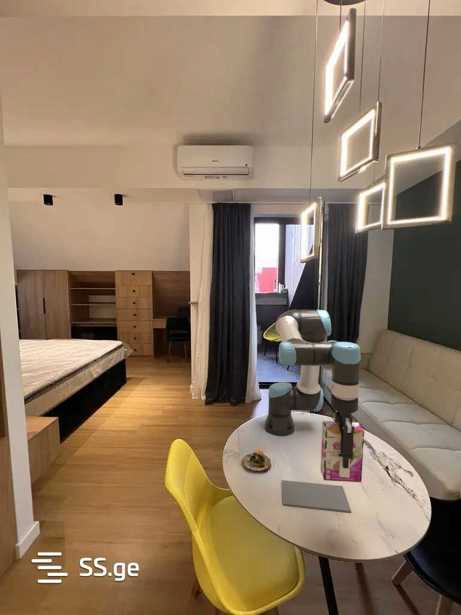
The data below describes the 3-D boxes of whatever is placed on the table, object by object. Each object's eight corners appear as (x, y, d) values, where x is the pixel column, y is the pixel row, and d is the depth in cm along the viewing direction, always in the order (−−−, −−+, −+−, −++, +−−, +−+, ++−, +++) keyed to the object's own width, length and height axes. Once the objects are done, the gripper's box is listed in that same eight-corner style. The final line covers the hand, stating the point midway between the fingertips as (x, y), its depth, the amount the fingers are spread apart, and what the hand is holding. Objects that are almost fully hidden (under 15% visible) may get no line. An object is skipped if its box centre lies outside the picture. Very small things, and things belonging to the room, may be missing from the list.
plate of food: (236, 462, 123) (236, 445, 122) (258, 453, 129) (258, 437, 129) (254, 478, 113) (254, 460, 112) (277, 468, 119) (277, 450, 119)
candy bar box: (323, 481, 86) (325, 428, 85) (319, 471, 91) (321, 420, 90) (362, 483, 85) (365, 429, 84) (356, 472, 90) (358, 421, 89)
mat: (281, 481, 111) (281, 480, 111) (342, 487, 107) (342, 485, 107) (283, 505, 99) (283, 503, 99) (351, 512, 96) (351, 511, 96)
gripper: (325, 383, 96) (323, 451, 98) (338, 408, 78) (335, 489, 80) (349, 385, 94) (347, 453, 97) (368, 409, 76) (364, 492, 79)
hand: (341, 469), depth 88 cm, fingers closed on candy bar box, 5 cm apart
